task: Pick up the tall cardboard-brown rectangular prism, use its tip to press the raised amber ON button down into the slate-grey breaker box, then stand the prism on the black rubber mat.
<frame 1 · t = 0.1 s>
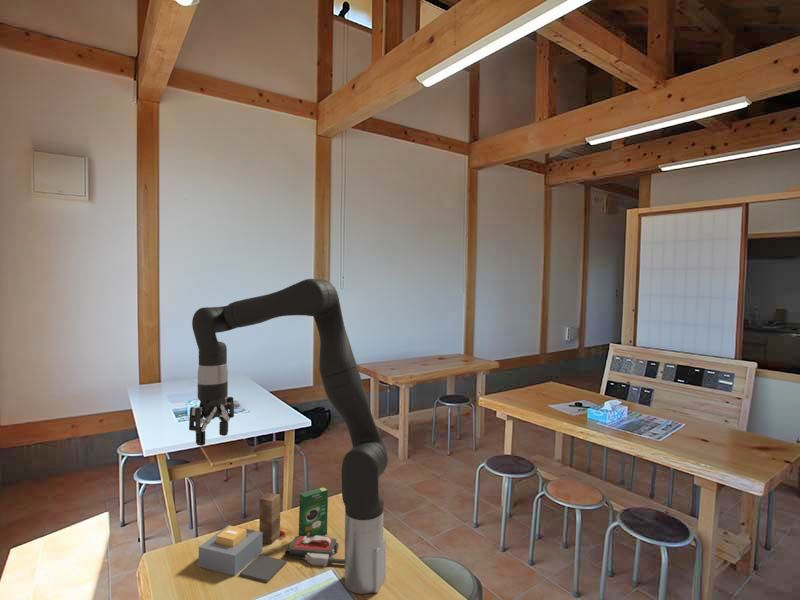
hand: (212, 439, 119), 29 cm above the table, tool pointing down, fingers open, 8 cm apart
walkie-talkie: (323, 557, 115), on the table
coffee box: (313, 537, 124), on the table
tall cardboard-brown rectangular prism: (269, 538, 123), on the table
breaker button: (231, 539, 113), point 5 cm above the table, slide at 0.0 cm
breaker box: (231, 558, 114), on the table
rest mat: (263, 569, 109), on the table
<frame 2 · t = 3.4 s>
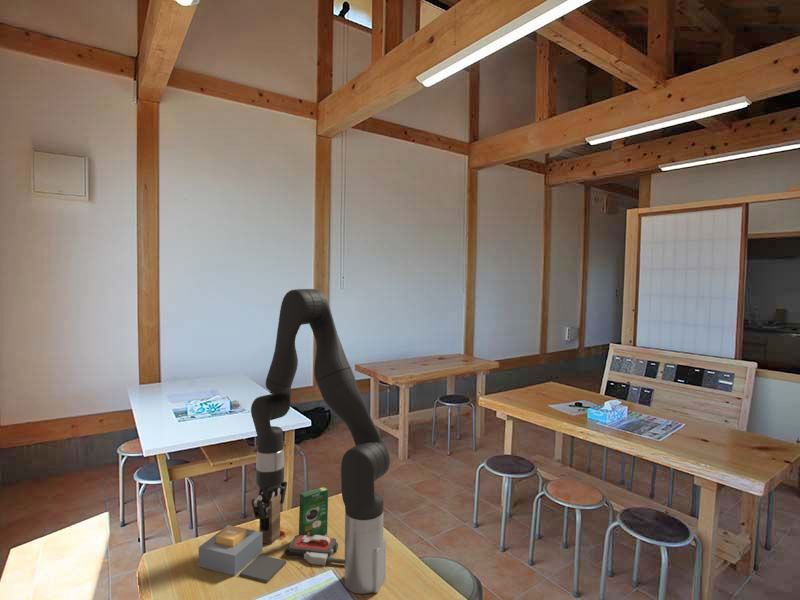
hand: (269, 525, 123), 4 cm above the table, tool pointing down, fingers closed on tall cardboard-brown rectangular prism, 4 cm apart
tall cardboard-brown rectangular prism: (269, 538, 123), on the table, touching gripper
everything else where it was.
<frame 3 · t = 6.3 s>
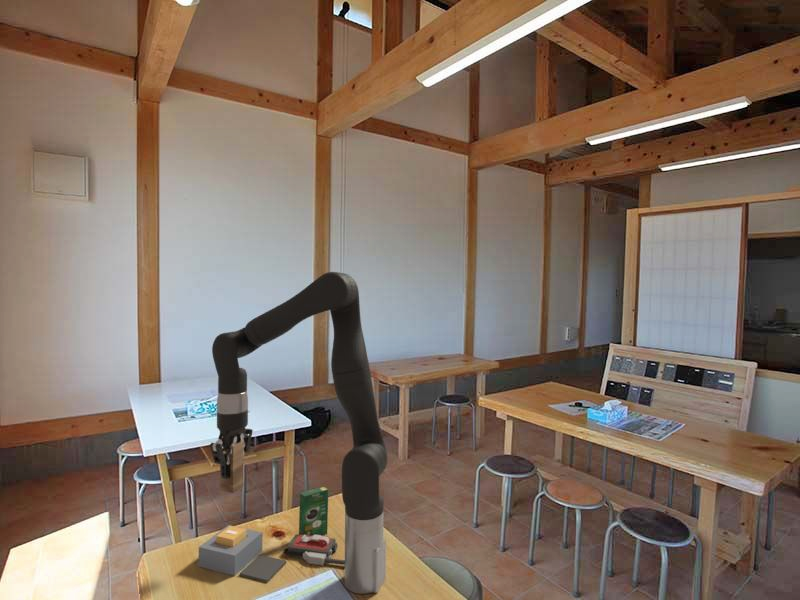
hand: (232, 474, 113), 22 cm above the table, tool pointing down, fingers closed on tall cardboard-brown rectangular prism, 4 cm apart
tall cardboard-brown rectangular prism: (231, 488, 113), point 18 cm above the table, touching gripper
everything else where it was.
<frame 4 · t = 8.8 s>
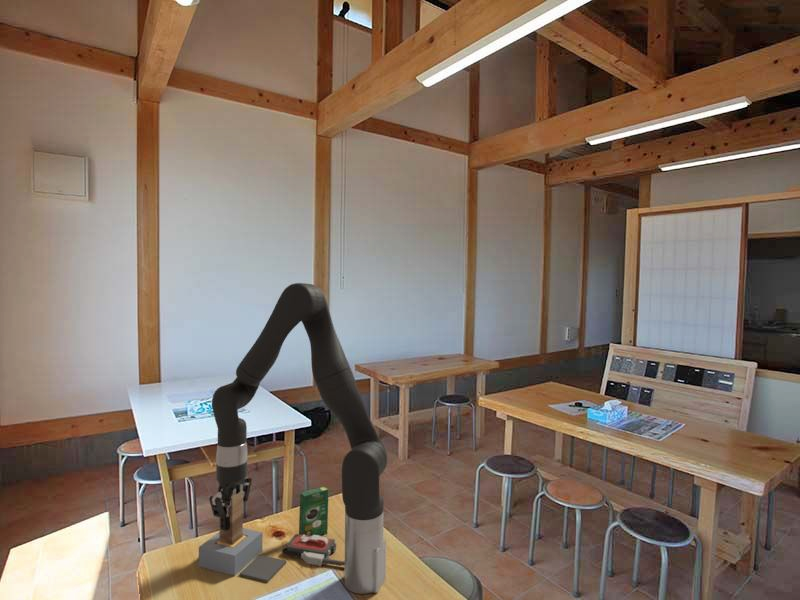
hand: (231, 524, 113), 9 cm above the table, tool pointing down, fingers closed on tall cardboard-brown rectangular prism, 4 cm apart
tall cardboard-brown rectangular prism: (231, 539, 113), point 5 cm above the table, touching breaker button, gripper
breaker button: (231, 546, 114), point 3 cm above the table, slide at 1.8 cm, touching breaker box, tall cardboard-brown rectangular prism
everything else where it was.
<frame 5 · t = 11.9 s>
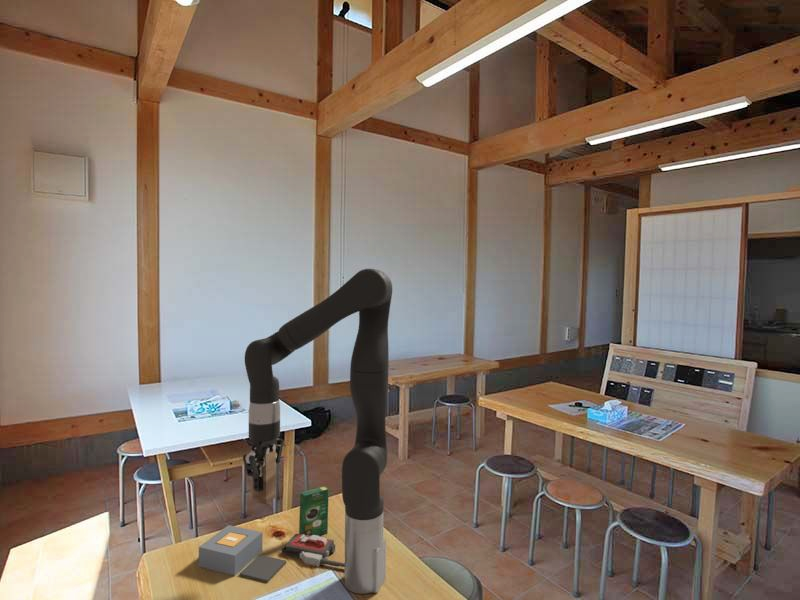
hand: (264, 486, 109), 21 cm above the table, tool pointing down, fingers closed on tall cardboard-brown rectangular prism, 4 cm apart
tall cardboard-brown rectangular prism: (264, 499, 109), point 18 cm above the table, touching gripper
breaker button: (231, 546, 114), point 3 cm above the table, slide at 1.7 cm
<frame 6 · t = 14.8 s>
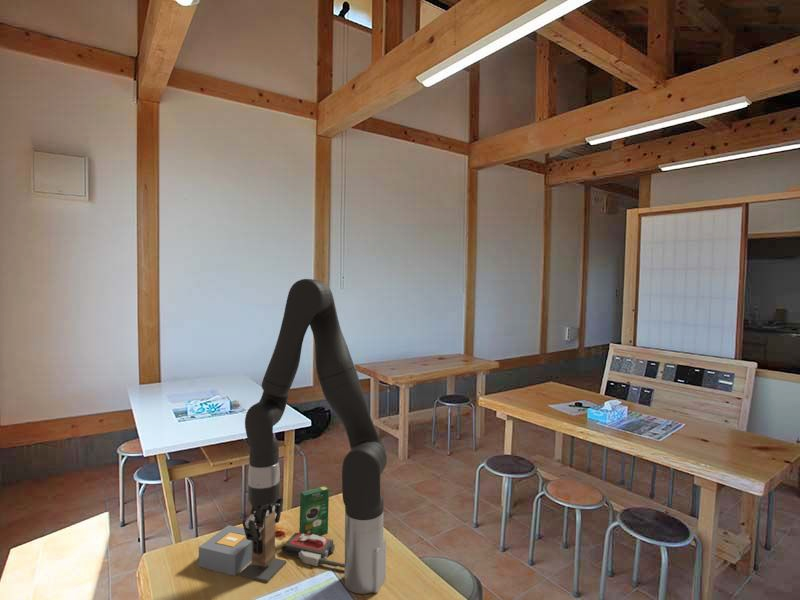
hand: (263, 547, 109), 5 cm above the table, tool pointing down, fingers closed on tall cardboard-brown rectangular prism, 4 cm apart
tall cardboard-brown rectangular prism: (263, 560, 109), point 2 cm above the table, touching gripper
when the fingers open (5 cm above the table, at t = 15.1 s): tall cardboard-brown rectangular prism drops 1 cm, resting on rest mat.
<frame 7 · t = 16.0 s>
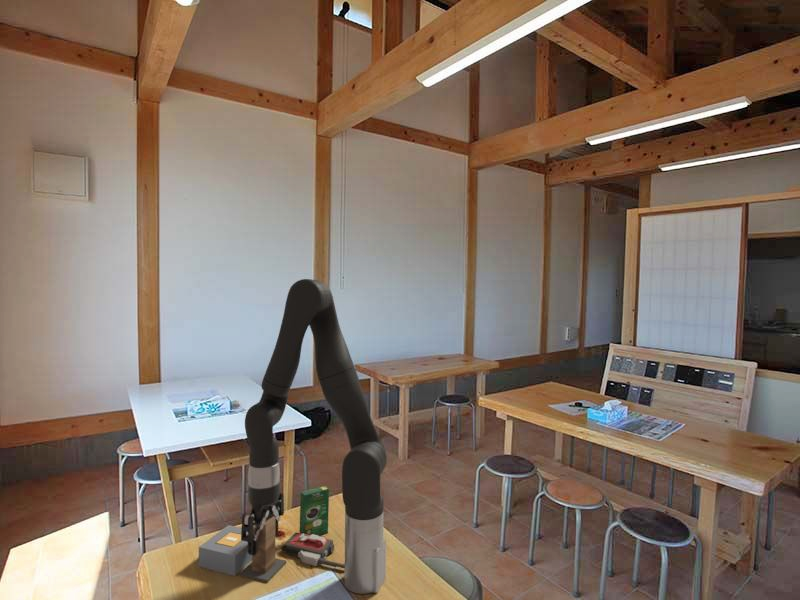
hand: (263, 544, 109), 6 cm above the table, tool pointing down, fingers open, 8 cm apart
tall cardboard-brown rectangular prism: (263, 566, 109), point 1 cm above the table, touching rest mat
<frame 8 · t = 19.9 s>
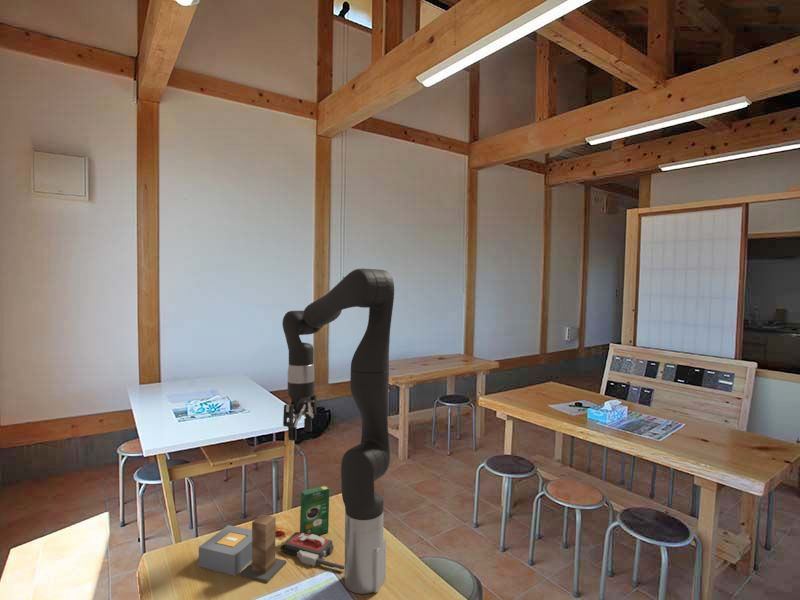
hand: (300, 435, 126), 28 cm above the table, tool pointing down, fingers open, 8 cm apart
at the end: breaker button slide at 1.7 cm; tall cardboard-brown rectangular prism 0.0 cm off-centre on the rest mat, point 0.6 cm above the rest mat's base; tall cardboard-brown rectangular prism tilted 0° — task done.
